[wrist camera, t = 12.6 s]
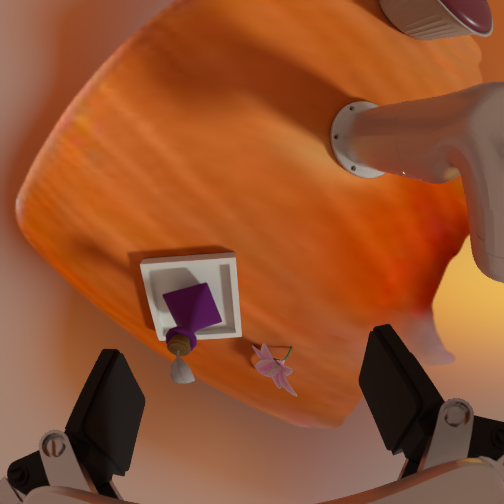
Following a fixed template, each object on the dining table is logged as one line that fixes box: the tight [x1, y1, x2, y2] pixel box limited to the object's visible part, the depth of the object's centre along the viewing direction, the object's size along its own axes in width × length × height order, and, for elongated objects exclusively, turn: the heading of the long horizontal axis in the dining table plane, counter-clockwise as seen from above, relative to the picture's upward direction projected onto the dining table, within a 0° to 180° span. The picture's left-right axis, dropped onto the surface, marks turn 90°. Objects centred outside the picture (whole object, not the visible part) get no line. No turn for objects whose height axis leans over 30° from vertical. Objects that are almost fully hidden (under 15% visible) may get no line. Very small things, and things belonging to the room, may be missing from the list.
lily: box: [252, 343, 298, 397], centre depth 48 cm, size 12×12×10 cm
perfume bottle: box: [162, 282, 222, 383], centre depth 36 cm, size 8×8×18 cm
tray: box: [140, 252, 242, 341], centre depth 44 cm, size 15×15×2 cm
